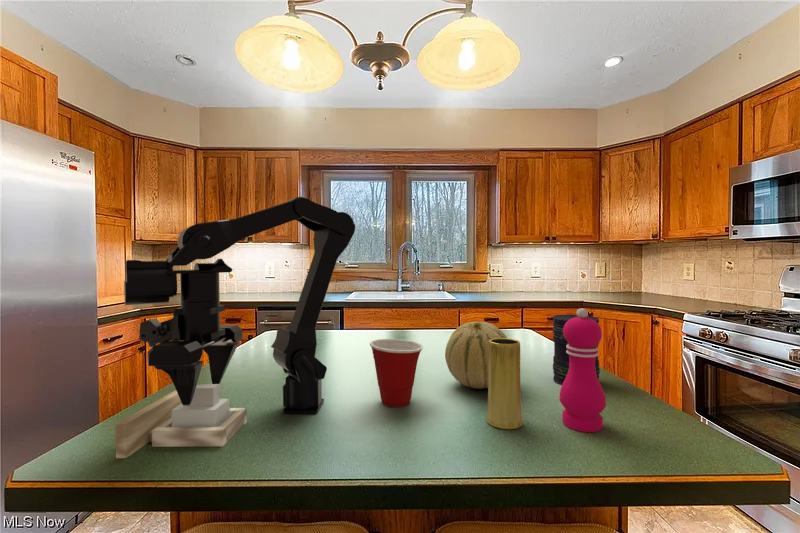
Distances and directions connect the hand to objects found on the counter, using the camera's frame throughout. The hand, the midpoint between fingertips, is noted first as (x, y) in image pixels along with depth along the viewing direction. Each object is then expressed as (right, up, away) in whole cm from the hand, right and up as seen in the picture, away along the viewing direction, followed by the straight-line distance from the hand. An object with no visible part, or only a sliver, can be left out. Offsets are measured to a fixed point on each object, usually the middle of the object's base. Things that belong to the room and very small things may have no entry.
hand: (202, 394), depth 64 cm
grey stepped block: (0, -7, 0) cm, 7 cm away
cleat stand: (-1, -7, 0) cm, 7 cm away
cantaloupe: (+50, -6, +22) cm, 55 cm away
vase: (+51, -6, +3) cm, 52 cm away
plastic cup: (+32, -6, +14) cm, 36 cm away
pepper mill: (+64, -6, +2) cm, 64 cm away
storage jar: (+73, -6, +25) cm, 78 cm away
